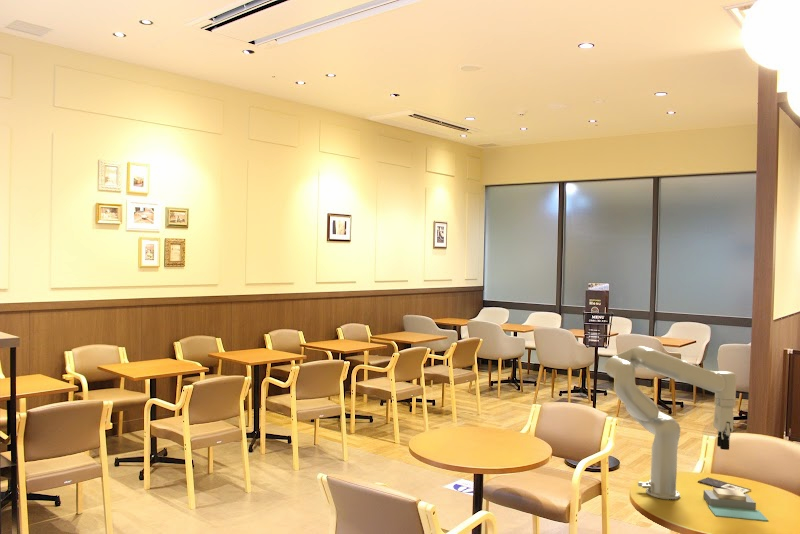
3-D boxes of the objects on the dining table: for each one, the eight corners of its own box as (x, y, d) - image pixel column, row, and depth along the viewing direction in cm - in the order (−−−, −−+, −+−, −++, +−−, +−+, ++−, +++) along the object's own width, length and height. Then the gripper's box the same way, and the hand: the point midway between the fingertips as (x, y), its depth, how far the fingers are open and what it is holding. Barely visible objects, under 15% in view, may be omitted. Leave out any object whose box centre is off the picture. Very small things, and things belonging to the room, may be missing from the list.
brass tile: (718, 498, 254) (718, 493, 254) (712, 491, 261) (712, 487, 261) (746, 500, 252) (746, 496, 252) (740, 494, 259) (740, 490, 259)
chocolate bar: (708, 477, 287) (751, 489, 273) (707, 479, 287) (751, 491, 273) (697, 481, 282) (741, 493, 268) (697, 483, 282) (741, 495, 268)
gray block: (710, 506, 253) (710, 498, 253) (703, 497, 263) (703, 489, 263) (755, 510, 250) (755, 502, 250) (746, 501, 260) (747, 493, 260)
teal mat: (715, 516, 243) (715, 515, 243) (707, 506, 253) (707, 505, 253) (768, 521, 240) (768, 520, 240) (758, 511, 250) (758, 510, 250)
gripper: (709, 397, 275) (707, 441, 275) (721, 406, 259) (719, 452, 259) (728, 399, 273) (726, 443, 274) (741, 407, 257) (739, 454, 257)
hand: (723, 447), depth 266 cm, fingers open, 3 cm apart
